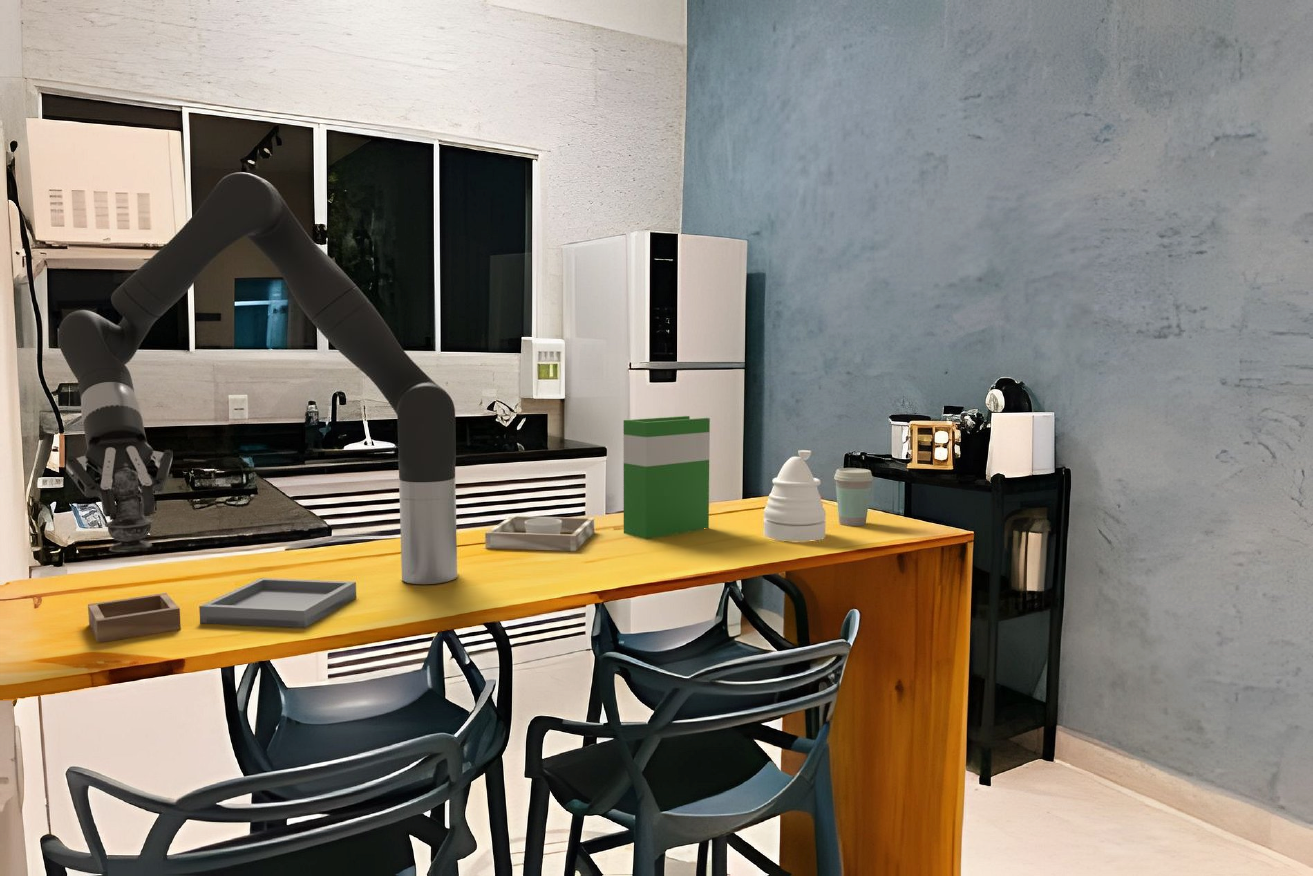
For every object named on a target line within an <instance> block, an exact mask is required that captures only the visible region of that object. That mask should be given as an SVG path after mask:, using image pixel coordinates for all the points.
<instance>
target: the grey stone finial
mask: <svg viewBox="0 0 1313 876" xmlns="http://www.w3.org/2000/svg"><path fill="white" fill-rule="evenodd" d="M123 467H124V469H122V470H120V471H118V472H117V473H116V474H115V479H114V486H115V487H114V488H115V494H114V499H115V504H116V509H117V516H116V519H115V520H110V521H108V522H106V523H105V524H104V526H105V527H106V528H107V532H108V534H109V536H110V537H111V538H112V539H113V540H115V541H117V542H118V543H117V542H116V543H115V544H113V545H112V546H110V547H109V549H108V551H110V552H114V553H115V552H116V553H127V552H128V553H129V552H136V551H143V550H147V549H150V548H152V547H153V544H152V542H149V541H148V540H142V539H144V538H146V537H147V536H148V535H149V534H150V531H151V529H152V523H153V522H154V520H153V519H152V518H147V516H144V513H143V511H142V509H141V496H142V494H141V492H140V490H139V487H138V475H137V473H136V472H135V471H133V470H130V469H129V468H127V467H128V465H127V464H126V463H125V464H124V466H123Z"/></svg>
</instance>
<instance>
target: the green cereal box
mask: <svg viewBox="0 0 1313 876" xmlns="http://www.w3.org/2000/svg"><path fill="white" fill-rule="evenodd" d="M710 422H711V421H710V417H700V418H690V415H683V416H669V417H668V416H667V417H655V418H654V417H652V418H639V419H638V418H636V419H624V420H623V534H625V535H629V536H632V537H636V538H639V539H644V540H648V539H654V538H653V537H655V538H661V537H666V536H665V535H667V536H672V534H673V535H677V534H676V533H678V534H683V533H689V532H688V531H690V532H696V531H701V529H702V530H705V529H704V528H708V529H710V523H709V522H710V509H709V508H710V439H711V438H710V437H711V436H710V433H711V431H710V430H711V429H710V425H711V424H710ZM660 536H661V537H660Z"/></svg>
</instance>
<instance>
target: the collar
mask: <svg viewBox="0 0 1313 876" xmlns="http://www.w3.org/2000/svg"><path fill="white" fill-rule="evenodd" d="M87 611H88V623H89V624H88V626H89V627H90V629H91V631H92V633H93V635H94V637H95V639H96V641H97V643H98V644H100V643H106V642H112V641H119V640H124V639H130V638H137V637H141V636H148V635H153V634H154V635H155V634H161V633H167V632H173V631H178V630H181V629H182V628H181V627H182V626H181V625H182V624H181V612H180V611H181V610H180V607H179V605H177V603H175V601H174V600H173V599H172V598H171V597H170V596H169V594H168V593H167V592H165V593H164V592H163V593H156V594H149V595H142V596H135V597H130V598H122V599H115V600H110V601H109V600H108V601H100V602H94V603H88V604H87Z"/></svg>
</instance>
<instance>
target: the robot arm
mask: <svg viewBox="0 0 1313 876" xmlns="http://www.w3.org/2000/svg"><path fill="white" fill-rule="evenodd" d="M244 237H246V238H247V239H248V241H250V242H251V243H252V244H254V246H256V248H257V249H258V250H260V252H261V253H262V254H263V255H264V256H265V257H266V258H267V260H269V261H270V262H271V263H272V264H273V266H274V267H275V268H276V269H277V270H278V272H279V274H280V276H281V277H282V279H283V280H284V282H285V284H286V286H287V287H288V289H289V291H290V293H291V294H292V296H293V298H294V299H295V301H296V303H298V306H299V307H300V309H302V312H303V313H304V314H305V315H306V316H307V318H308V319H309V321H311V323H312V324H313V325H314V326H315V327H316V328H317V330H319V332H320V333H321V335H323V336H324V337H325V338H326V339H325V340H327V341H328V342H329V343H330V344H331V345H332V346H333V347H334V348H335V349H336V350H337V351H338V352H340V354H341V355H342V356H343V357H344V358H346V359H347V360H348V361H349V362H350V363H352V364H353V365H354V366H355V367H356V368H358V370H360V371H361V372H363V374H364V375H365V376H367V377H368V378H369V379H370V381H372V383H373V384H374V385H375V386H376V388H377V389H378V390H379V392H381V394H382V396H383V397H384V398H385V400H386V401H387V402H388V404H389V405H390V406H391V408H392V409H393V411H394V413H395V415H396V416H397V441H398V442H397V443H398V444H397V445H398V448H397V449H398V452H397V453H398V458H397V459H398V460H397V461H398V481H399V482H398V485H399V486H398V487H399V490H398V491H399V492H398V493H399V519H400V520H399V522H400V523H399V525H400V558H401V559H400V563H401V565H400V566H401V580H402V582H405V583H407V584H414V585H436V584H442V583H446V582H451V581H453V580H455V579H457V577H458V546H457V545H458V544H457V543H458V542H457V540H458V539H457V500H456V499H457V497H456V496H457V495H456V462H457V461H456V460H457V451H456V449H457V447H456V446H457V445H456V444H457V443H456V442H457V441H456V440H457V439H456V435H457V434H456V431H457V430H456V425H457V424H456V408H455V404H454V401H453V400H452V397H451V396H450V394H449V393H448V392H447V391H446V390H445V389H444V388H442V387H441V386H440V385H439V384H437V383H436V382H435V381H434V380H433V379H432V378H430V376H429V375H427V374H426V373H425V372H424V371H423V370H422V368H420V367H419V365H417V364H416V363H415V362H414V360H413V359H412V358H411V357H410V355H408V354H407V353H406V351H405V350H404V349H403V347H402V346H401V345H400V342H398V340H397V338H396V336H395V335H394V333H393V332H392V330H391V329H390V327H389V326H388V324H387V323H386V322H385V320H384V319H383V317H382V316H381V314H380V313H379V312H378V310H377V309H376V307H375V306H374V305H373V303H372V302H371V301H370V300H369V299H368V298H367V296H366V295H365V294H364V293H363V292H362V290H361V289H360V288H359V287H358V286H357V285H356V284H355V283H354V281H353V280H352V279H351V278H350V277H349V276H348V275H347V274H346V273H345V271H344V270H343V269H342V268H341V267H340V266H339V265H338V264H337V263H336V262H335V261H334V260H333V259H332V258H331V257H330V256H329V255H328V254H327V253H325V252H324V250H322V249H321V247H320V246H319V245H318V244H317V243H316V242H314V240H313V239H312V238H311V237H310V236H309V234H308V233H307V232H306V231H305V229H304V227H303V226H302V225H301V223H300V222H299V220H297V218H296V217H295V215H294V214H293V212H292V211H291V209H290V208H289V206H288V205H287V203H286V201H285V200H284V199H283V197H282V195H281V194H280V193H279V191H278V190H277V188H276V187H275V186H274V185H273V184H272V183H270V182H269V181H267V180H266V179H264V178H262V177H260V176H258V175H255V174H252V173H249V172H234V173H230V174H228V175H225V176H224V177H222V178H221V179H220V180H219V182H218V183H217V184H216V185H215V186H214V188H213V189H212V191H211V192H210V193H209V194H208V195H207V197H206V199H205V200H204V201H203V202H202V204H201V205H200V207H198V209H197V210H196V212H195V213H194V214H193V215H192V216H191V217H190V219H189V220H188V221H187V223H185V224H184V225H183V227H182V228H181V229H179V231H178V232H177V233H176V234H175V235H174V236H173V237H172V238H171V239H170V240H169V241H168V242H167V243H166V244H165V245H164V246H162V248H161V249H159V250H158V251H157V252H156V253H155V254H154V255H153V256H152V257H150V259H148V260H147V261H146V262H145V263H144V264H143V265H141V267H139V268H138V269H137V270H136V271H135V272H134V273H133V274H132V275H131V276H129V277H128V278H127V279H126V280H125V281H124V282H123V283H121V285H119V286H118V287H117V288H116V289H115V290H114V291H113V292H112V293H111V297H110V300H111V304H112V306H113V307H114V309H115V310H116V311H117V312H118V313H119V314H120V315H121V316H122V319H121V320H120V322H119V323H118V324H115V323H113V322H112V321H110V320H109V319H106V318H105V317H103V316H101V315H100V314H97V313H96V312H93V311H91V310H86V309H80V310H74V311H73V312H70V313H69V314H67V315H66V316H65V317H64V318H63V320H62V321H61V323H60V324H59V327H58V332H57V333H58V334H57V341H58V346H59V349H60V352H61V354H62V356H63V358H64V360H65V361H66V363H67V365H68V367H69V370H70V371H71V373H72V374H73V375H74V377H75V378H76V380H77V384H78V385H77V386H78V391H79V397H80V403H81V404H80V411H81V412H80V413H81V424H82V426H83V432H84V437H85V442H86V449H87V450H86V451H85V454H84V455H83V456H82V455H81V456H80V457H76V456H74V455H70V456H67V457H66V460H65V472H66V473H67V475H68V476H69V477H70V478H71V480H72V481H73V482H74V484H75V485H76V487H77V488H79V490H80V491H81V493H82V494H83V495H84V497H86V498H90V499H91V498H94V497H96V498H99V499H100V501H101V507H102V513H103V514H102V515H104V517H106V518H107V517H109V520H110V521H112V520H115V519H116V516H117V509H116V500H115V498H114V495H115V494H114V493H115V492H114V490H113V489H112V485H113V480H115V474H116V473H117V472H118V471H120V470H122V469H124V467H123V466H124V464H125V463H126V464H127V465H128V467H127V468H129V469H130V470H133V471H135V472H136V473H137V475H138V487H139V493H140V494H142V496H141V497H140V503H141V506H142V513H143V516H144V517H150V516H151V514H152V513H154V512H155V510H156V509H155V508H156V499H155V494H154V492H163V491H164V490H165V486H166V484H167V479H168V476H169V473H170V469H171V467H172V466H171V465H172V462H173V456H174V455H173V454H174V452H173V450H171V449H165V450H164V451H163V452H162V451H158V450H157V451H156V450H154V449H153V447H152V446H151V445H149V443H148V441H147V435H146V432H145V426H144V421H143V417H142V412H141V408H140V405H139V401H138V399H137V396H136V394H135V389H134V385H133V379H132V376H131V372H130V370H129V369H128V367H127V366H126V364H128V363H129V362H130V361H131V360H132V359H133V357H134V356H135V354H136V353H137V351H138V349H139V348H140V346H141V343H142V342H143V340H144V339H145V338H146V336H147V335H148V333H149V332H150V330H151V328H152V326H153V325H154V324H155V322H156V321H158V319H160V317H162V316H164V314H165V313H166V312H167V311H169V309H170V308H172V307H173V306H174V305H175V304H176V303H177V302H178V301H179V300H180V299H181V298H182V297H183V296H184V295H185V294H186V293H187V292H188V291H189V290H190V288H191V287H192V286H193V285H194V284H195V282H196V280H197V279H198V278H199V277H200V276H201V274H202V273H203V272H204V271H205V269H206V268H207V267H208V266H209V265H210V264H211V263H212V262H213V260H215V259H216V258H217V257H218V256H219V255H221V253H222V252H224V251H225V250H226V249H228V248H229V247H230V246H232V245H233V244H235V243H236V242H237V241H239V240H241V239H242V238H244ZM151 460H153V461H154V465H155V466H156V467H157V469H158V470H157V473H156V476H155V477H153V478H151V477H150V475H149V473H148V469H147V466H148V464H149V463H150V462H151ZM87 465H88V466H89V467H91V468H92V469H93V470H95V471H96V472H98V473H99V474H100V475H101V481H100V483H96V482H95V480H94V479H93V478H92V476H91V475H90V474H89V473H88V472H87Z"/></svg>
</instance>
